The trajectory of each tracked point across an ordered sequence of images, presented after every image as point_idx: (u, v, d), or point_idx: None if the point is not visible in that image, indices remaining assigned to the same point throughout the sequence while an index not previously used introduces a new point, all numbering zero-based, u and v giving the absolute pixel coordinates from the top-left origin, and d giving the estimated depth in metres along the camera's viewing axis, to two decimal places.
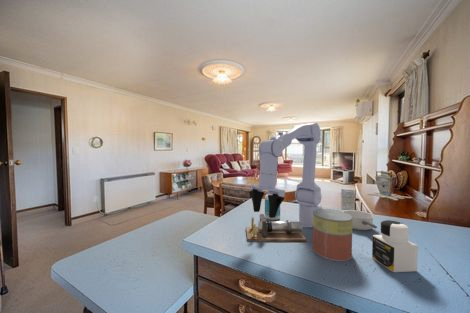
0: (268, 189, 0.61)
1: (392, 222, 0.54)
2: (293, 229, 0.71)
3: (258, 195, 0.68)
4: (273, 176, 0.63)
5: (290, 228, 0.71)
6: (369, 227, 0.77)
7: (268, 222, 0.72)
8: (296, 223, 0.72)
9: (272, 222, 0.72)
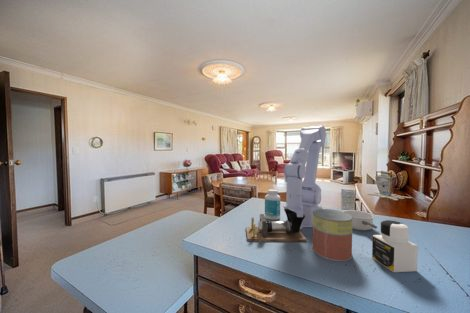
0: (290, 209, 0.70)
1: (392, 222, 0.54)
2: None
3: (292, 212, 0.75)
4: (295, 197, 0.70)
5: (290, 228, 0.71)
6: (369, 227, 0.77)
7: (268, 222, 0.72)
8: None
9: (272, 222, 0.72)
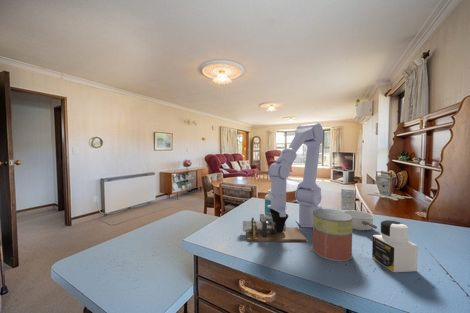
0: (274, 209, 0.70)
1: (392, 222, 0.54)
2: None
3: (277, 212, 0.75)
4: (279, 197, 0.70)
5: (274, 228, 0.71)
6: (369, 227, 0.77)
7: (252, 222, 0.72)
8: None
9: (256, 222, 0.72)
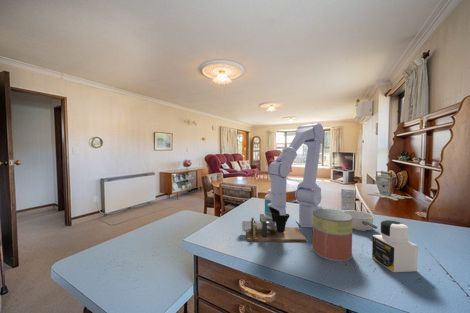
0: (274, 207, 0.70)
1: (392, 222, 0.54)
2: (276, 229, 0.71)
3: (276, 210, 0.76)
4: (279, 195, 0.70)
5: (273, 228, 0.71)
6: (370, 227, 0.76)
7: (252, 222, 0.72)
8: None
9: (256, 222, 0.72)
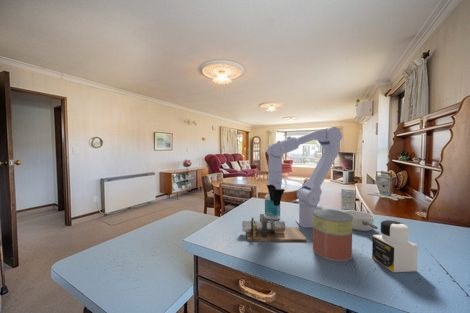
0: (271, 183, 0.79)
1: (392, 222, 0.54)
2: (276, 229, 0.71)
3: (273, 188, 0.85)
4: (276, 173, 0.79)
5: (273, 228, 0.71)
6: (370, 228, 0.76)
7: (252, 222, 0.72)
8: (280, 223, 0.72)
9: (256, 222, 0.72)
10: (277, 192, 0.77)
